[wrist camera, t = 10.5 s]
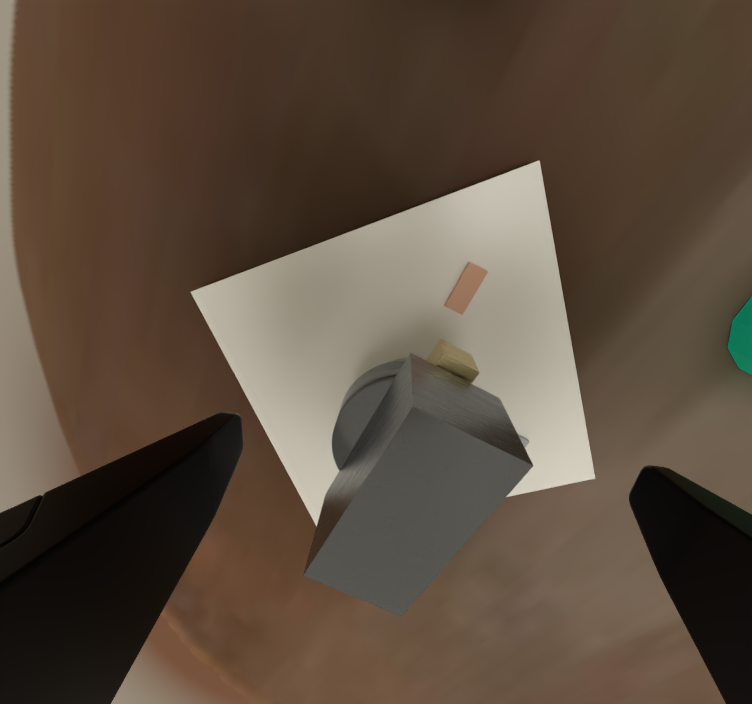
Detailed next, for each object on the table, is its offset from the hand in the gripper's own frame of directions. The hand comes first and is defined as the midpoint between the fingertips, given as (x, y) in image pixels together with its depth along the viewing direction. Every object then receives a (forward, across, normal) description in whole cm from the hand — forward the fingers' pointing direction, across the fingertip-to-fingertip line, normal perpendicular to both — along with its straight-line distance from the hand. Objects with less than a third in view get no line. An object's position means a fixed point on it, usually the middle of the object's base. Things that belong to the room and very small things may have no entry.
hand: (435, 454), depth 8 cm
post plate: (+12, 0, +5) cm, 13 cm away
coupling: (+8, 0, +4) cm, 9 cm away
